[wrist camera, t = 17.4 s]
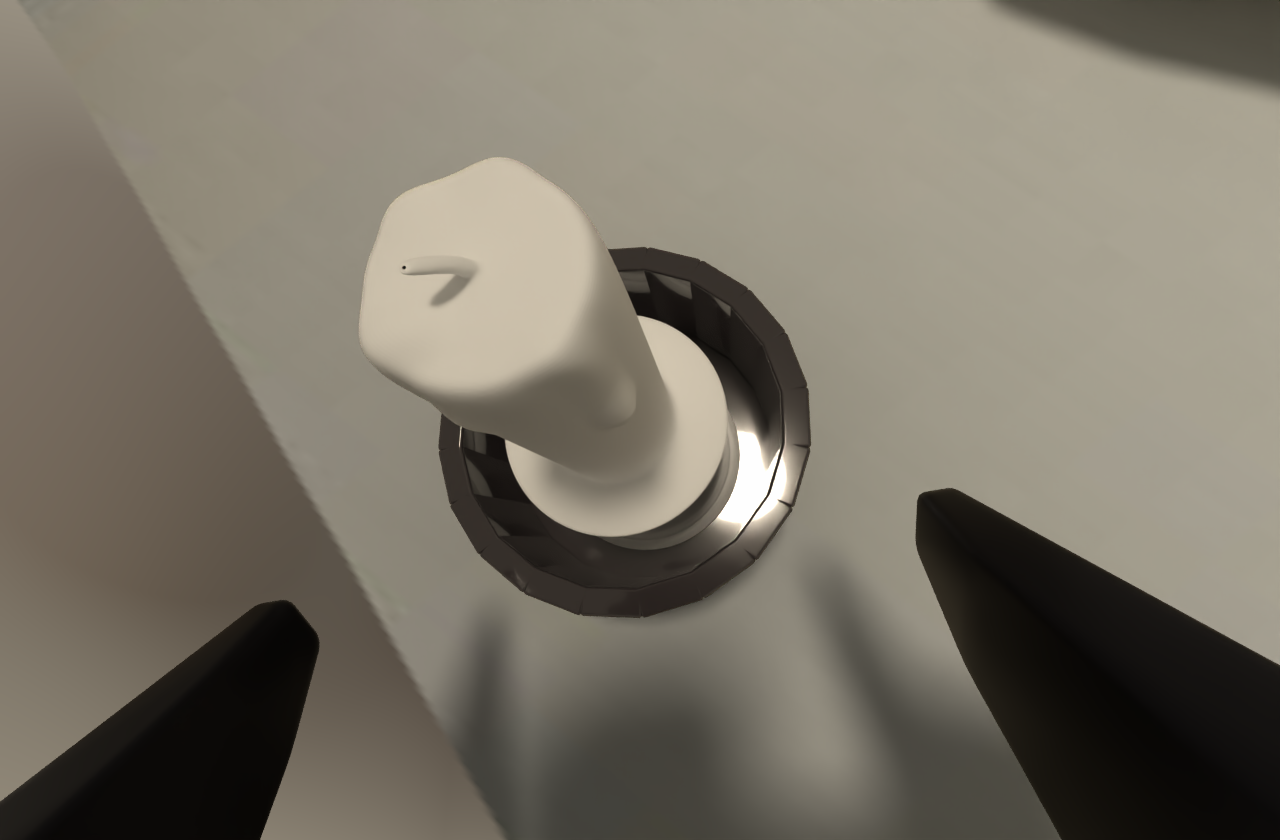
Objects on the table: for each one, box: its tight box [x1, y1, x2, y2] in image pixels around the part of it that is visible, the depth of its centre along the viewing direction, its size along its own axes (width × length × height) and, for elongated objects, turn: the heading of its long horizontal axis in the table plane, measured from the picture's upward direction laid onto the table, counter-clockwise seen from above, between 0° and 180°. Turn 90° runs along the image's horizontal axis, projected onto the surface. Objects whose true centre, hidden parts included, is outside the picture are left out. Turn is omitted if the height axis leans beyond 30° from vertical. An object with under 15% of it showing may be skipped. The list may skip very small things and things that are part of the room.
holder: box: [439, 247, 811, 618], centre depth 15 cm, size 8×8×4 cm
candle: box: [359, 157, 740, 550], centre depth 10 cm, size 5×5×12 cm
